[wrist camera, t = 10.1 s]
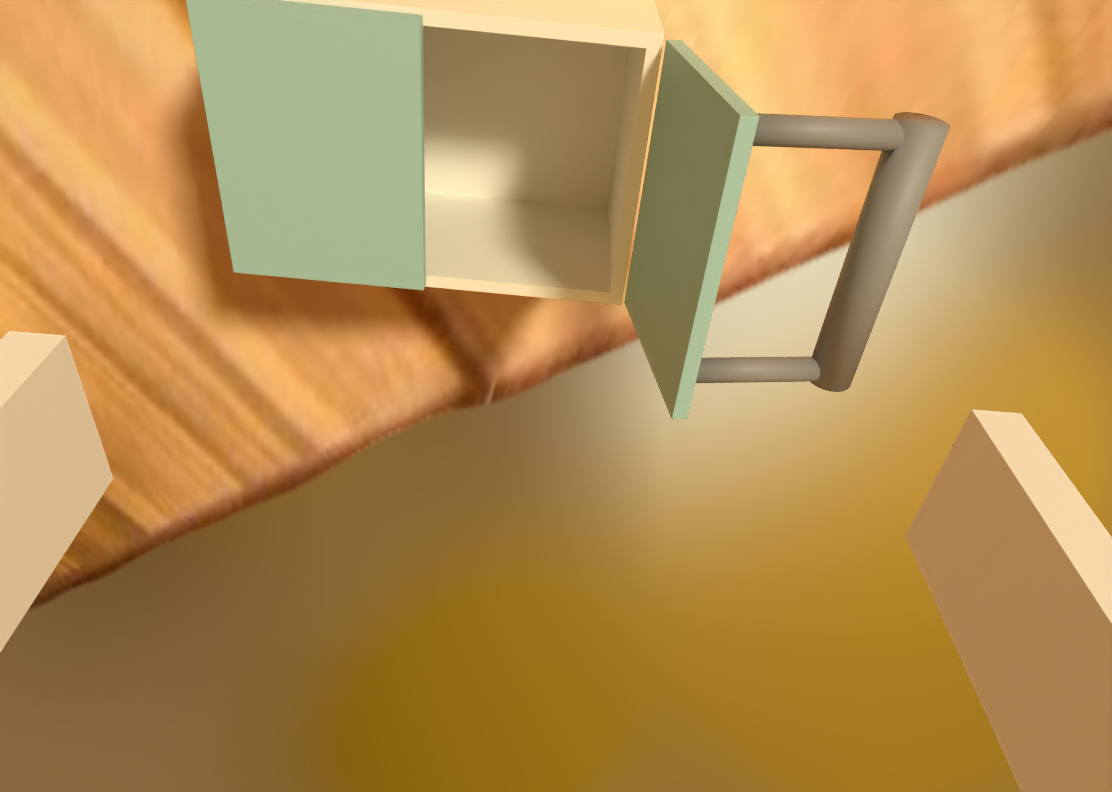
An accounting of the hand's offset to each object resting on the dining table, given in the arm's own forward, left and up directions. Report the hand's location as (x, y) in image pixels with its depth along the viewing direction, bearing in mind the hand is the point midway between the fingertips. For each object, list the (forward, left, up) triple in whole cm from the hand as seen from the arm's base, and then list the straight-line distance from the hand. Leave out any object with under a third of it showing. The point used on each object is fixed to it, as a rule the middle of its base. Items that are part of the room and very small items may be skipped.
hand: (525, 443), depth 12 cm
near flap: (+5, -5, -19) cm, 20 cm away
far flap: (-10, -5, -23) cm, 26 cm away
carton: (-5, -5, -34) cm, 34 cm away
